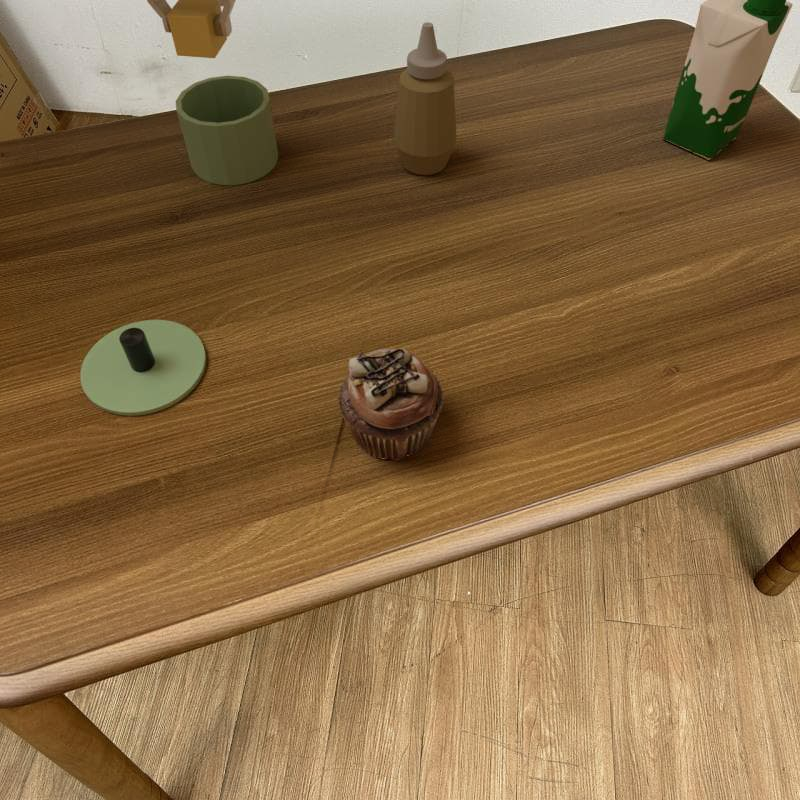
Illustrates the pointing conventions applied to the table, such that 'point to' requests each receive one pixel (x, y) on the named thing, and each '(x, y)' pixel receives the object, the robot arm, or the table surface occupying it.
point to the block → (195, 28)
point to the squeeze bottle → (425, 108)
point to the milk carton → (723, 71)
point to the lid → (143, 367)
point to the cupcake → (390, 402)
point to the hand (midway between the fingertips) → (198, 32)
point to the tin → (228, 129)
